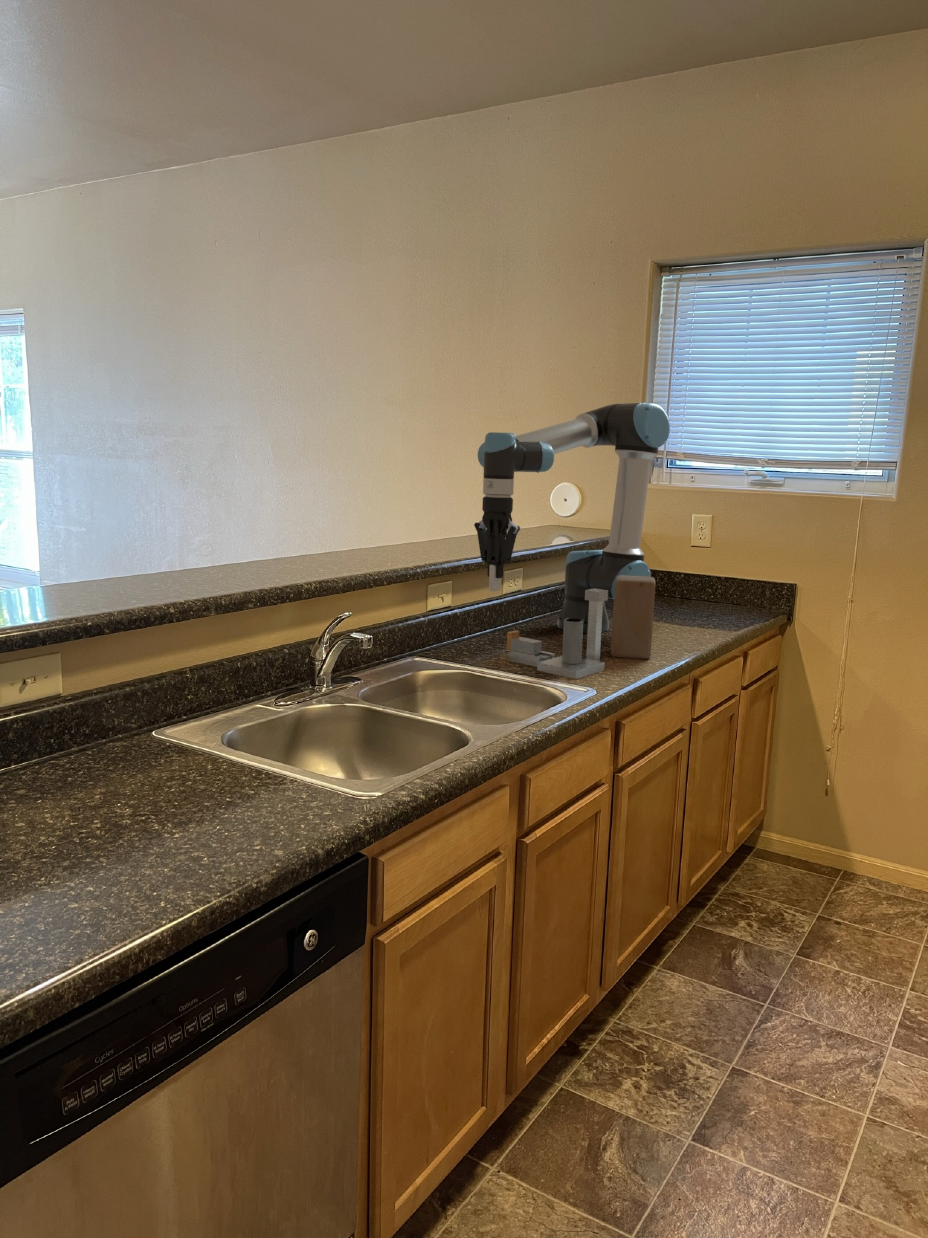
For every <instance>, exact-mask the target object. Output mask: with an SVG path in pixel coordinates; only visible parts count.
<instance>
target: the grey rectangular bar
mask: <svg viewBox="0 0 928 1238" xmlns="http://www.w3.org/2000/svg"><path fill="white" fill-rule="evenodd" d="M506 636H507V637H506V650H507V651H516V652H521V653H526V654H530V655H536V654H540V653H541V652H542V651H543V650H542V647H543V641H542V640H539V639H532V638H528V637H522V636H520V630H512V631H507V634H506Z"/></svg>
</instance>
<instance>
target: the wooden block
mask: <svg viewBox="0 0 928 1238" xmlns="http://www.w3.org/2000/svg"><path fill="white" fill-rule="evenodd" d="M655 596H656V579H655V577H653V576H651V577H645V576H627V575H619V576H617V578H616V581H615V590H614V599H613V609H612V610H613V611H612V626H611V627H612V628H611V641H610V642H611V645H610V654H611V656H612V657H614V658H624V659H625V658H627V659H640V660H648V659H650V658H651V655H652V654H651V653H652V641H653V629H654V628H653V627H654V625H653V624H654V612H655V611H654V610H655V599H656V598H655Z"/></svg>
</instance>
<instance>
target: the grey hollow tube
mask: <svg viewBox="0 0 928 1238" xmlns="http://www.w3.org/2000/svg"><path fill="white" fill-rule="evenodd" d="M562 634H563V636H562V655H561V656H562V662H563V663H566V664H580V663H581V659H582V658H583V656H582V655H583V654H582V653H583V637H584V634H583V620H582V619H578V618H566V619H564V630H563V633H562Z"/></svg>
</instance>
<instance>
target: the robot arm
mask: <svg viewBox="0 0 928 1238" xmlns="http://www.w3.org/2000/svg"><path fill="white" fill-rule="evenodd" d="M670 424H671V423H670V419H669V416H668V414H667V413H666V411H665V409H664V408H663V407H662V406H660V405H658V404H656V403H651V402H650V403H649V402H633V403H631V402H630V403H629V402H628V403H612V404H608V405H605V406H603V407H602V406H601V407H598V408H595V409H593V410H589V411H586V412H584V413H580V414H578V415H577V416H576V418H575V419H571V420H568V421H565V422H561V423H557V424H554V425H550V426H547V427H544V428H539V429H536V430H533V431H529V432H525V433H522V434H518V435H516V434H515V433H513V432H496V431H495V432H494V431H493V432H488V433H486V435H485V436H484V441H483V442H482V444H481V445H480V446H479V447H478V449H477V460H478V463H479V464H480V466H481V467H482V468H483V481H482V482H483V483H482V485H483V486H482V494H483V495H484V496H483V497H482V505H481V506H482V508H481V510H482V511H483V514H482V518H481V520H480V521H478V522H474V524H473V525H474V528H475V530H476V532H477V539H478V540H477V541H478V546H479V554H480V559H481V561H482V562H485V563H486V564H487V573H486V574H487V575H486V576H487V578H489V579H488V591H489V592H498V591H501V587H502V585H501V583H502V578H503V577H504V565H506V564H509V563H511V561H512V556H513V552H514V547H515V543H516V539H517V535H518V533H519V532H520V530H521V526H519V525H516V524H515V523H514V522H513V518H512V512H513V507H514V498H513V497H511V496H513V495H514V489H515V488H514V487H515V486H514V485H515V484H514V483H515V480H514V479H515V473H517V472H518V473H520V472H521V473H537V474H538V473H545V472H547V471H549V470H550V469H551V468H552V467H553V465H554V462H555V455H556V454H559V453H563V452H565V451H570V450H572V449H576V448H579V447H583V448H592V447H597V446H612V447H613V446H614V452H615V454H616V455H617V456H618V469H617V475H616V482H615V483H616V484H615V489H614V490H615V492H614V498H613V499H614V501H613V508H612V516H611V525H610V530H609V531H610V532H609V539H608V544H607V546H605V547H604V548H603V549H594V550H593V549H591V550H574V551H573V550H572V551H569V552H568V553H567V556H566V561H565V562H566V563H565V573H564V574H565V575H564V577H565V578H564V601H563V605H562V606H561V609H560V612H559V615H558V617H557V622H556V623H557V624H556V625H557V628H558V629H560V630H563V631H564V619H566V618H578V619H582V620H583V633H585V634H588V615H589V600H585V590H588V589H594V588H595V589H602V590H608V599H611V600H614V590H615V581H616V578H617V576H619V575H627V576H645V577H652V574H651V570H650V568H649V565H648V564H647V563H646V562H645V553H644V552H643V550H642V549H641V542H642V541H641V540H642V532H643V525H644V518H645V517H644V516H645V511H646V503H647V493H648V487H649V480H650V479H649V478H650V477H649V476H650V470H651V462H652V460H654V459H655V458H656V457H657V456H658V452H659V448H660V447H662V446H664V445H665V443H666V442H668V439H669V436H670V432H671V431H670V430H671V428H670V427H671V425H670ZM609 629H610V619H609V616H608V613H607V609H606V605H605V601H603V611H602V628H601V633H604V632H607V631H609Z"/></svg>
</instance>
